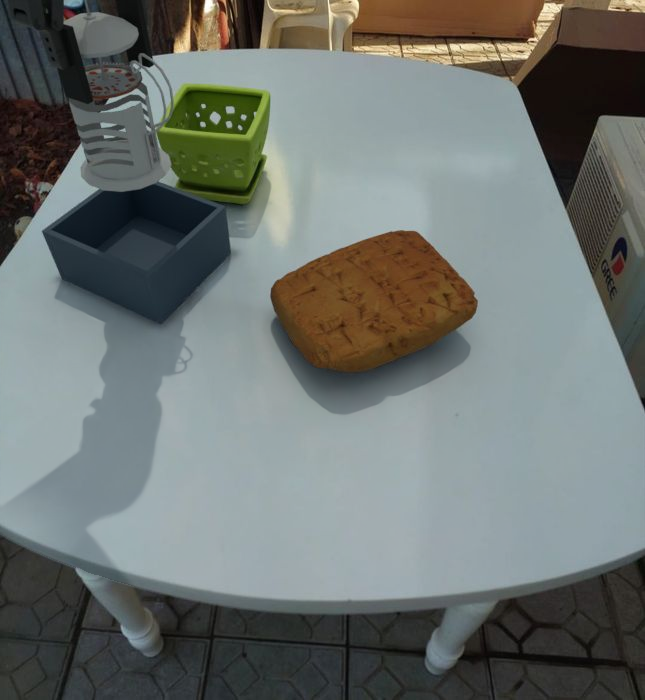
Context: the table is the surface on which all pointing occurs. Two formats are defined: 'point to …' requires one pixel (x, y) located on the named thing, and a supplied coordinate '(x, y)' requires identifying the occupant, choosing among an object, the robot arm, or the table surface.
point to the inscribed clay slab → (372, 302)
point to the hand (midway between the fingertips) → (111, 80)
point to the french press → (108, 82)
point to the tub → (140, 246)
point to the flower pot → (217, 141)
